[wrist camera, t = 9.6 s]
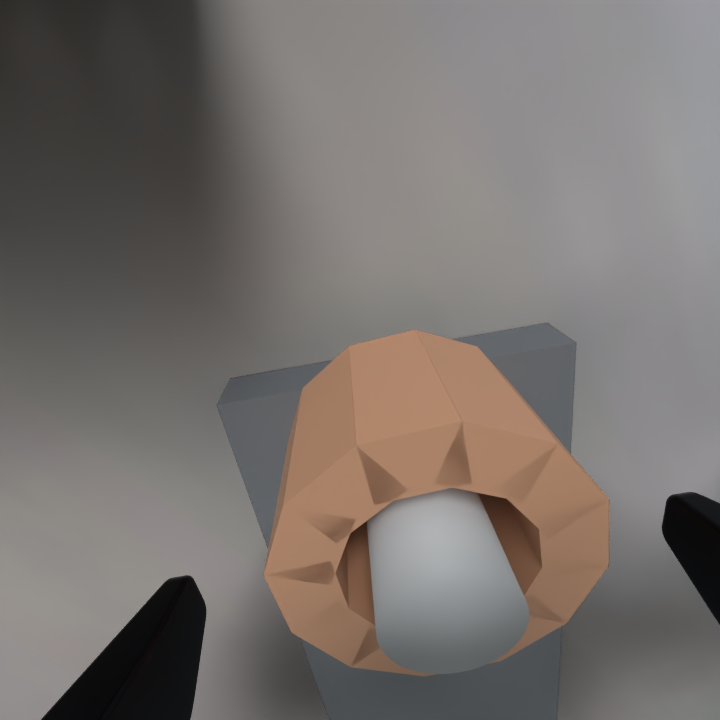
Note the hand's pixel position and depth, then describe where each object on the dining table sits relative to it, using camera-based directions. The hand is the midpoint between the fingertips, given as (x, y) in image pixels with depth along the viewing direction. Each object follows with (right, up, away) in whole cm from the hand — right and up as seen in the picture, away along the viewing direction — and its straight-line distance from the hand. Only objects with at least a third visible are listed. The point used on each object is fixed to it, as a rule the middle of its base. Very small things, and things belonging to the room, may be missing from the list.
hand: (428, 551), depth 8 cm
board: (+1, -3, +7) cm, 8 cm away
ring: (0, +1, +3) cm, 4 cm away
